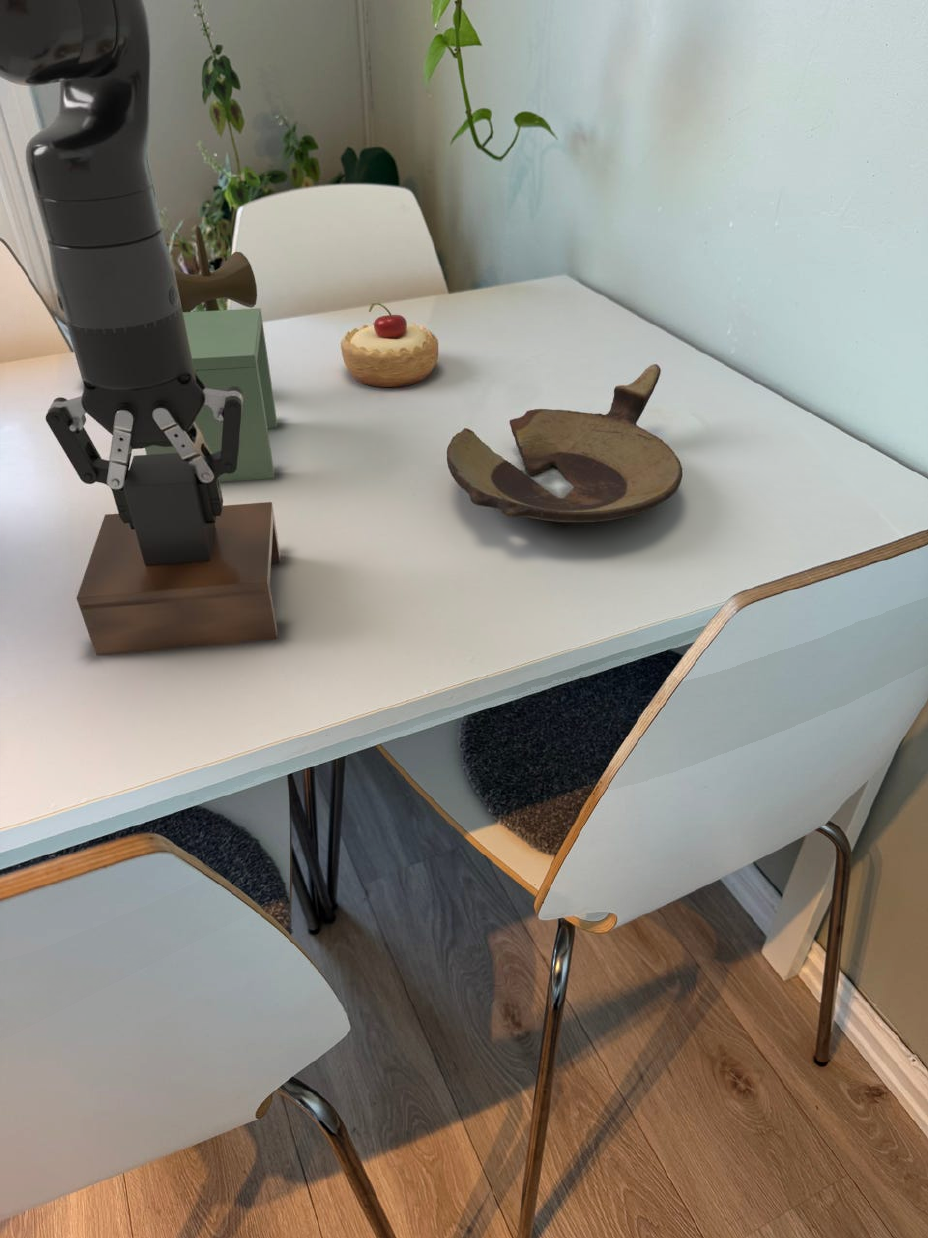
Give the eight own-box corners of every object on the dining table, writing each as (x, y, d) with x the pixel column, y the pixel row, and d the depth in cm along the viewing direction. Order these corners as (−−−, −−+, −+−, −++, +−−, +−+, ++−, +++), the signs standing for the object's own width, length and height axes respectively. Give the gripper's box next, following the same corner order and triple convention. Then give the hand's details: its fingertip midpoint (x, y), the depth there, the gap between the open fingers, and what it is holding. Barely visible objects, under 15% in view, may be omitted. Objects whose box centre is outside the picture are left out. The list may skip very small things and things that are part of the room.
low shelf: (97, 659, 70) (75, 597, 66) (121, 572, 79) (104, 514, 75) (277, 642, 71) (267, 581, 67) (281, 559, 81) (272, 501, 77)
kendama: (276, 401, 107) (250, 225, 95) (199, 420, 103) (162, 239, 91) (256, 384, 111) (229, 213, 99) (181, 402, 107) (143, 226, 95)
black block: (144, 566, 69) (122, 487, 65) (153, 531, 73) (133, 455, 69) (210, 560, 70) (192, 482, 65) (215, 527, 74) (199, 450, 69)
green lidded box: (155, 490, 90) (122, 362, 82) (170, 433, 101) (143, 314, 92) (274, 481, 92) (254, 354, 83) (277, 426, 102) (260, 307, 94)
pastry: (403, 402, 107) (399, 329, 101) (325, 382, 112) (317, 310, 106) (456, 368, 115) (455, 298, 109) (381, 350, 120) (377, 283, 114)
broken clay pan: (399, 485, 91) (395, 415, 86) (623, 414, 104) (630, 349, 99) (529, 593, 76) (532, 516, 71) (771, 494, 89) (788, 423, 84)
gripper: (235, 281, 63) (268, 490, 74) (24, 291, 62) (89, 504, 72) (227, 317, 57) (265, 539, 68) (-6, 329, 56) (70, 555, 66)
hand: (174, 520), depth 70 cm, fingers closed on black block, 5 cm apart
